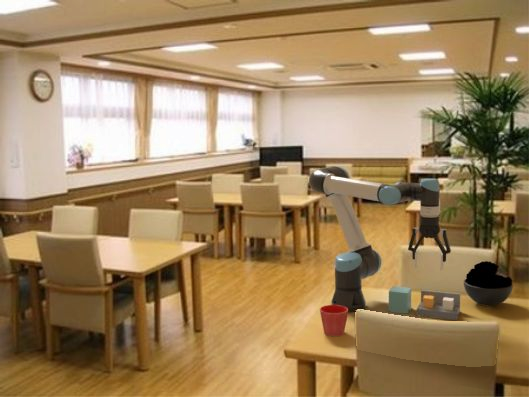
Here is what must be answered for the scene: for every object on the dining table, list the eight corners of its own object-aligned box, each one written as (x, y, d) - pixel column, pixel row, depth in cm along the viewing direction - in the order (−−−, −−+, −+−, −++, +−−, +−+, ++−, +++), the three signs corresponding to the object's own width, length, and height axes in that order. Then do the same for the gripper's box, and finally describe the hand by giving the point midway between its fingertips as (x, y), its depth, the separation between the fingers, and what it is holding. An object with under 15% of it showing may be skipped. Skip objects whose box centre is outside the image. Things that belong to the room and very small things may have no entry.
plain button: (442, 311, 227) (442, 300, 226) (443, 308, 231) (444, 297, 230) (452, 312, 225) (452, 301, 225) (453, 309, 229) (453, 298, 228)
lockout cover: (388, 311, 235) (388, 291, 234) (392, 305, 242) (392, 286, 241) (407, 313, 232) (407, 293, 230) (411, 307, 239) (411, 287, 238)
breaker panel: (416, 315, 229) (416, 297, 228) (421, 307, 239) (421, 289, 238) (456, 320, 222) (457, 301, 221) (459, 311, 232) (460, 293, 231)
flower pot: (329, 325, 220) (329, 302, 219) (353, 331, 213) (353, 307, 212) (314, 333, 212) (314, 309, 211) (339, 340, 205) (338, 315, 204)
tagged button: (422, 308, 231) (422, 297, 230) (424, 306, 234) (424, 295, 233) (432, 309, 229) (432, 298, 228) (434, 307, 232) (434, 296, 232)
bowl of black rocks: (503, 297, 249) (504, 257, 246) (519, 312, 229) (520, 269, 227) (458, 297, 251) (458, 257, 248) (470, 312, 231) (471, 269, 229)
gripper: (400, 216, 228) (400, 267, 231) (456, 218, 218) (455, 272, 221) (404, 213, 235) (403, 263, 237) (459, 215, 225) (457, 268, 228)
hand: (428, 268), depth 229 cm, fingers open, 10 cm apart
